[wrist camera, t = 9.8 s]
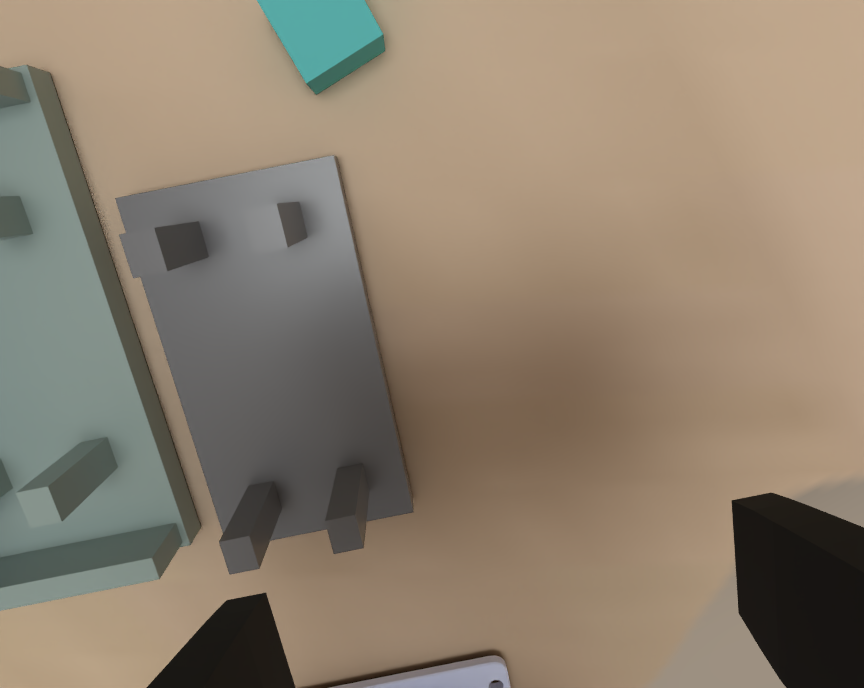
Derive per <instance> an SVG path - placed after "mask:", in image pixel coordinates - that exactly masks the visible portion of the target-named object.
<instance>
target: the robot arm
mask: <svg viewBox="0 0 864 688" xmlns="http://www.w3.org/2000/svg"><path fill="white" fill-rule="evenodd" d="M732 513H733V529H734V545H735V561H736V577H737V591H738V608H739V614H740V616H741V617H742V619H743V621H744V622H745V624H746V626H747V627H748V629H749V631H750V632H751V634H752V635H753V637H754V639H755V641H756V642H757V644H758V646H759V647H760V649H761V651H762V652H763V654H764V655H765V657H766V658H767V660H768V661H769V663H770V664H771V666H772V668H773V669H774V671H775V672H776V674H777V675H778V677H779V679H780V680H781V681H782V683H783V684H784V685H785V686H786V688H864V528H863V527H861V526H858V525H856V524H853V523H851V522H848V521H846V520H843V519H841V518H838V517H836V516H833V515H831V514H828V513H826V512H823V511H820V510H818V509H815V508H813V507H810V506H808V505H805V504H802V503H800V502H797V501H795V500H792V499H789V498H786V497H783V496H780V495H777V494H774V493H767V494H762V495H757V496H752V497H747V498H742V499H737V500H732ZM494 680H500V681H499V682H497V683H491V682H492V681H494ZM147 688H295V685H294V682H293V679H292V675H291V672H290V669H289V666H288V662H287V659H286V656H285V653H284V650H283V646H282V643H281V640H280V637H279V633H278V630H277V627H276V624H275V621H274V617H273V614H272V611H271V608H270V604H269V601H268V598H267V595H266V593H262V594H257V595H252V596H247V597H242V598H236V599H231V600H227V601H226V602H225V603H224V604H223V605H222V606H221V607H220V608H219V609H218V610H217V611H216V612H215V613H214V614H213V615H212V616H211V617H210V618H209V619H208V620H207V621H206V622H205V623H204V625H203V626H202V627H201V628H200V629H199V630H198V631H197V632H196V633H195V634H194V636H193V637H192V638H191V639H190V640H189V641H188V642H187V643H186V645H185V646H184V647H183V648H182V649H181V650H180V651H179V652H178V653H177V655H176V656H175V657H174V658H173V659H172V660H171V661H170V662H169V664H168V665H167V666H166V667H165V668H164V669H163V670H162V671H161V672H160V673H159V675H158V676H157V677H156V678H155V679H154V680H153V681H152V682H151V683H150V684H149V686H148V687H147ZM329 688H511V686H510V681H509V676H508V671H507V666H506V663H505V661H504V660H503V659H502V658H501V657H499V656H496V655H494V656H486V657H481V658H476V659H471V660H466V661H461V662H455V663H450V664H445V665H440V666H435V667H430V668H425V669H420V670H415V671H410V672H405V673H400V674H395V675H390V676H385V677H380V678H375V679H370V680H365V681H360V682H355V683H350V684H344V685H339V686H334V687H329Z"/></svg>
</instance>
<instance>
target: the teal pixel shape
mask: <svg viewBox="0 0 864 688" xmlns="http://www.w3.org/2000/svg"><path fill="white" fill-rule="evenodd" d="M257 1H258V3H259V5H260V6H261V8H262V10H263V11H264V13H265V15H266V16H267V18H268V20H269V21H270V23H271V25H272V27H273V28H274V30H275V32H276V33H277V35H278V37H279V38H280V40H281V42H282V43H283V45H284V47H285V48H286V50H287V52H288V53H289V55H290V57H291V58H292V60H293V62H294V63H295V65H296V67H297V69H298V70H299V72H300V74H301V75H302V77H303V79H304V80H305V82H306V84H307V85H308V86H309V87H310V88H311V89H312V90H313V91H314V93H315V94H316V95H317V94H318V93H320V92H321V91H323V90H325V89H326V88H328V87H329V86H331V85H332V84H334V83H336V82H337V81H339V80H340V79H342V78H343V77H345V76H347V75H348V74H350V73H351V72H353V71H355V70H356V69H358V68H359V67H361V66H362V65H364V64H366V63H367V62H369V61H370V60H372V59H373V58H375V57H377V56H378V55H380V54H381V53H383V52H384V51H385V45H384V37H383V33H382V31H381V29H380V27H379V26H378V24H377V22H376V20H375V18H374V17H373V15H372V13H371V11H370V9H369V7H368V6H367V4H366V2H365V0H257Z"/></svg>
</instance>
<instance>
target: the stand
mask: <svg viewBox="0 0 864 688" xmlns="http://www.w3.org/2000/svg"><path fill="white" fill-rule="evenodd" d="M115 199H116V203H117V206H118V209H119V212H120V215H121V218H122V221H123V224H124V227H125V231H126V233H125V234H120V235H119V236H120V239H121V242H122V245H123V248H124V252H125V255H126V258H127V261H128V264H129V267H130V270H131V273H132V276H133V278H137V277H141V280H142V283H143V286H144V290H145V293H146V296H147V299H148V302H149V305H150V308H151V311H152V314H153V317H154V321H155V324H156V327H157V330H158V333H159V336H160V339H161V342H162V345H163V348H164V352H165V355H166V358H167V361H168V364H169V367H170V370H171V373H172V376H173V380H174V383H175V386H176V389H177V392H178V395H179V398H180V401H181V404H182V407H183V411H184V414H185V417H186V420H187V423H188V426H189V429H190V432H191V435H192V439H193V442H194V445H195V448H196V451H197V454H198V457H199V460H200V463H201V466H202V470H203V473H204V476H205V479H206V482H207V485H208V488H209V491H210V494H211V497H212V501H213V504H214V507H215V510H216V513H217V516H218V519H219V522H220V525H221V529H222V532H223V535H222V537H221V539H220V541H219V543H220V546H221V549H222V553H223V556H224V559H225V562H226V565H227V568H228V571H229V574H235V573H240V572H245V571H250V570H255V569H260V566H261V563H262V561H263V558H264V555H265V553H266V550H267V547H268V545H269V542H270V540H275V539H280V538H285V537H290V536H295V535H300V534H305V533H310V532H316V531H321V530H326V529H327V530H328V534H329V538H330V542H331V545H332V549H333V553H334V554H336V553H341V552H346V551H351V550H356V549H361V548H364V539H365V530H366V521H371V520H376V519H381V518H386V517H391V516H396V515H401V514H407V513H412V512H413V498H412V493H411V489H410V484H409V480H408V475H407V471H406V466H405V462H404V457H403V453H402V448H401V444H400V439H399V435H398V430H397V426H396V421H395V417H394V412H393V408H392V403H391V399H390V394H389V390H388V385H387V381H386V376H385V372H384V367H383V363H382V358H381V354H380V349H379V345H378V340H377V336H376V331H375V327H374V322H373V318H372V313H371V309H370V304H369V300H368V295H367V291H366V286H365V282H364V277H363V273H362V268H361V264H360V259H359V255H358V250H357V246H356V241H355V237H354V232H353V228H352V223H351V219H350V214H349V209H348V205H347V200H346V196H345V191H344V187H343V182H342V178H341V173H340V169H339V164H338V160H337V157H336V156H334V155H333V156H328V157H323V158H317V159H312V160H307V161H302V162H297V163H292V164H287V165H282V166H277V167H272V168H267V169H262V170H257V171H251V172H246V173H241V174H236V175H231V176H226V177H221V178H216V179H211V180H206V181H201V182H196V183H191V184H185V185H180V186H175V187H170V188H165V189H160V190H155V191H150V192H145V193H140V194H135V195H130V196H125V197H119V198H115Z"/></svg>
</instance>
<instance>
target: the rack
mask: <svg viewBox="0 0 864 688" xmlns="http://www.w3.org/2000/svg"><path fill="white" fill-rule="evenodd" d="M200 528H201V526H200V523H199V520H198V517H197V514H196V511H195V508H194V505H193V502H192V499H191V496H190V493H189V490H188V487H187V484H186V481H185V478H184V475H183V472H182V469H181V466H180V463H179V460H178V457H177V454H176V451H175V448H174V445H173V442H172V439H171V436H170V433H169V430H168V427H167V424H166V421H165V418H164V415H163V412H162V409H161V406H160V403H159V400H158V397H157V394H156V391H155V388H154V385H153V382H152V379H151V376H150V373H149V370H148V367H147V364H146V361H145V358H144V355H143V352H142V348H141V345H140V342H139V339H138V336H137V333H136V330H135V327H134V324H133V321H132V318H131V315H130V312H129V309H128V306H127V303H126V300H125V297H124V294H123V291H122V288H121V285H120V282H119V279H118V276H117V273H116V270H115V267H114V264H113V261H112V258H111V255H110V252H109V249H108V246H107V243H106V240H105V237H104V234H103V231H102V228H101V225H100V222H99V219H98V216H97V213H96V210H95V207H94V204H93V201H92V198H91V195H90V192H89V189H88V186H87V183H86V180H85V177H84V174H83V171H82V168H81V165H80V162H79V159H78V156H77V153H76V150H75V147H74V144H73V141H72V138H71V135H70V132H69V129H68V126H67V123H66V120H65V117H64V114H63V111H62V108H61V105H60V102H59V99H58V96H57V93H56V90H55V87H54V84H53V81H52V78H51V75H50V73H49V72H46V71H43V70H40V69H37V68H35V67H32V66H29V65H23V66H18V67H13V68H8V69H7V68H4V67H1V66H0V611H1V610H6V609H11V608H16V607H21V606H27V605H32V604H37V603H42V602H47V601H52V600H57V599H62V598H67V597H72V596H77V595H82V594H87V593H92V592H97V591H102V590H107V589H112V588H118V587H123V586H128V585H133V584H138V583H143V582H148V581H153V580H158V579H160V578H161V576H162V574H163V573H164V571H165V570H166V568H167V566H168V565H169V563H170V562H171V560H172V558H173V557H174V555H175V554H176V552H177V550H178V549H179V547H183V546H188V545H191V543H192V541H193V540H194V538H195V536H196V535H197V533H198V531H199V530H200Z"/></svg>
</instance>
